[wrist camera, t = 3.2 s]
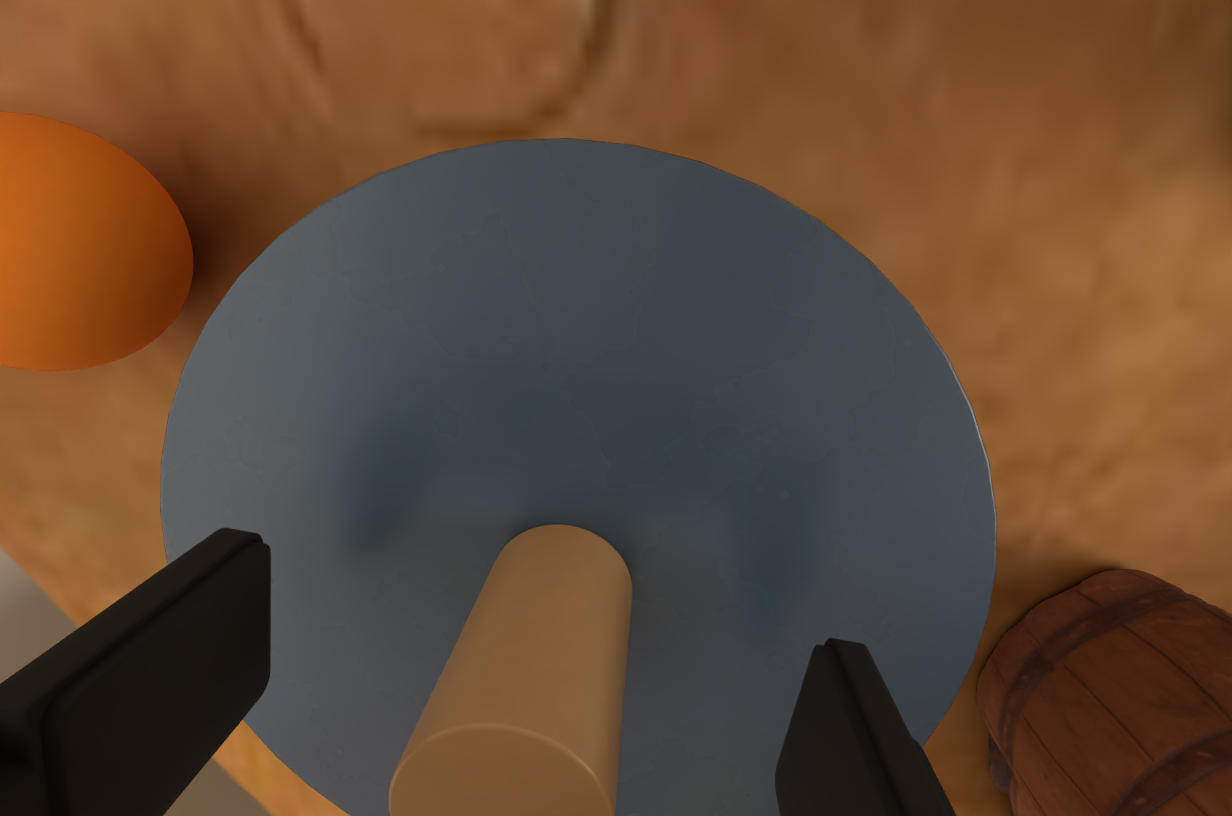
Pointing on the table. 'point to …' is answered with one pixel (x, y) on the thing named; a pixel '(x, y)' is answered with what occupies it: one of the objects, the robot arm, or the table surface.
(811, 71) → the table surface
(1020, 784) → the wooden figurine
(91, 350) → the orange ball
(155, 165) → the table surface
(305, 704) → the pan lid
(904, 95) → the table surface
